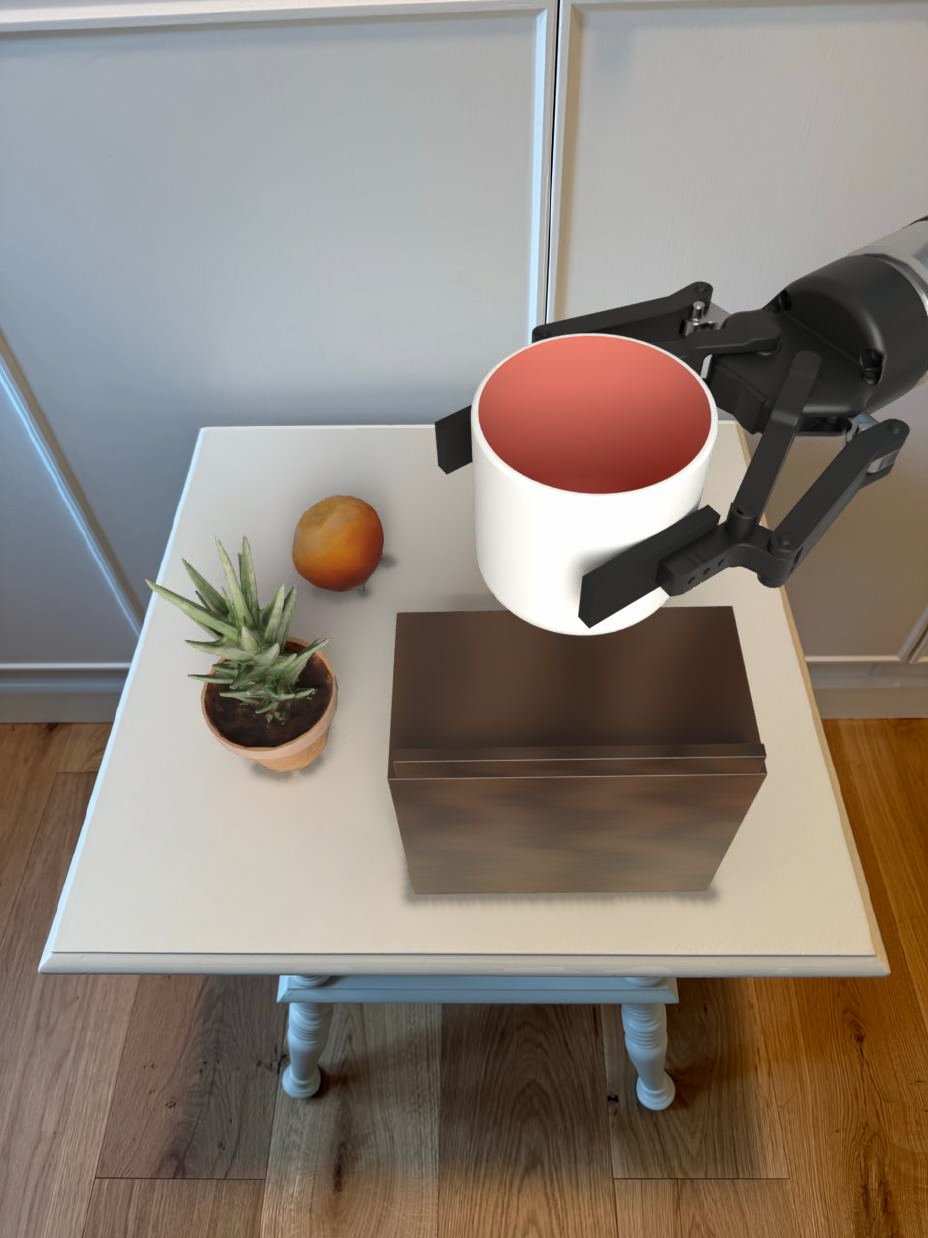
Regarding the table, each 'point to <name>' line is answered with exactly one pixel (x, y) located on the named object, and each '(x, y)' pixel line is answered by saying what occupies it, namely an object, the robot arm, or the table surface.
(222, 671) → the potted plant
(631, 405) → the cup
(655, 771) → the brown lidded box
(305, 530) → the fruit
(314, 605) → the table surface
